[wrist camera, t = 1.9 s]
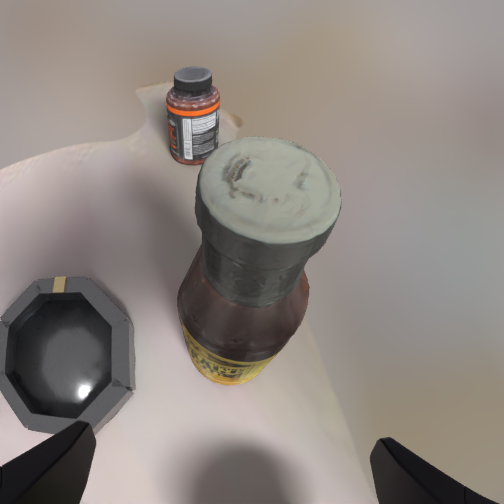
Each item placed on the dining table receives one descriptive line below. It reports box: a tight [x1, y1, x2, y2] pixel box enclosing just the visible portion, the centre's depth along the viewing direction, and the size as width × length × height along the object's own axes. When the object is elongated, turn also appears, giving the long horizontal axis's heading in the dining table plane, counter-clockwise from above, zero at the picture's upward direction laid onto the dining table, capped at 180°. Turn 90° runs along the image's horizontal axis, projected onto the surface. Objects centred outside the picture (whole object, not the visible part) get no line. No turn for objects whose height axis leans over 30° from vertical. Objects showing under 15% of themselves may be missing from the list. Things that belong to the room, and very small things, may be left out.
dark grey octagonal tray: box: [0, 276, 135, 435], centre depth 22 cm, size 14×14×2 cm
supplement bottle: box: [166, 66, 220, 165], centre depth 33 cm, size 6×6×11 cm
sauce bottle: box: [177, 136, 341, 385], centre depth 17 cm, size 6×6×20 cm
